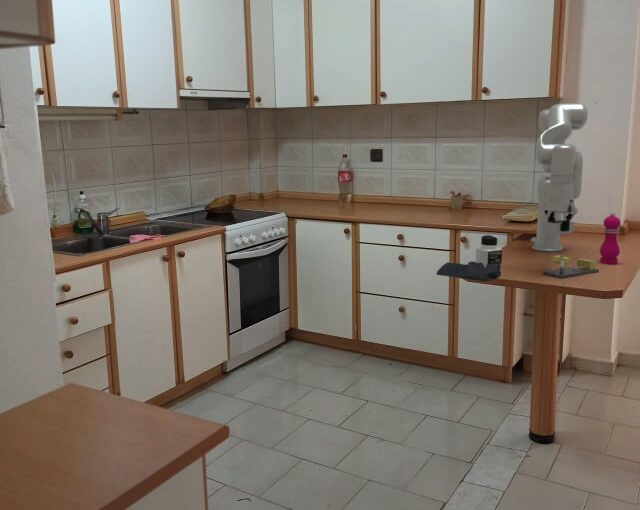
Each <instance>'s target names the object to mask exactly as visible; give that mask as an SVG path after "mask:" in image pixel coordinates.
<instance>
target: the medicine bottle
mask: <svg viewBox="0 0 640 510" xmlns="http://www.w3.org/2000/svg"><path fill="white" fill-rule="evenodd" d="M498 239H499V238H498V236H496V235H493V234H492V235H491V234H486V235H483V236H481V242H480V247H476V248H475V260H474V262H476V263H483V265H484V268H485V267H486V265H487V264H495V265H500V268H501V267H502V261H503V260H502V259H503V257H502V256H503V249H502V248H501V247H498Z"/></svg>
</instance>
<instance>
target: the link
mask: <svg viewBox="0 0 640 510" xmlns="http://www.w3.org/2000/svg"><path fill="white" fill-rule="evenodd" d="M562 220H563V219H561V220H555V221H544V222H543V230H542V233H548V234H553V235H558V234H560V235H564V234H565V235H566V234H573V233H574V227H575V226H574V224H575V222H574V221H572V220H570V226H569V231H565V232H563V231H562Z"/></svg>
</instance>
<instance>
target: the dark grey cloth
mask: <svg viewBox="0 0 640 510" xmlns="http://www.w3.org/2000/svg"><path fill="white" fill-rule="evenodd" d="M436 275H437V276H441V277H442V276H443V277H450V278H458V279H466V280H474V281H480V282H491V281H494V280H495V279H499V277H500V276H501V275H502V272H501V267H500V265H495V264H487V265H486V267H485V268H484V265H483V263H476V262H475V261H472V260H471V261H469V262H468V263H467V264H465V263H456V262H446V263H445V264H443V265H441V267H440V268H439V269H438V270H437V271H436Z"/></svg>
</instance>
